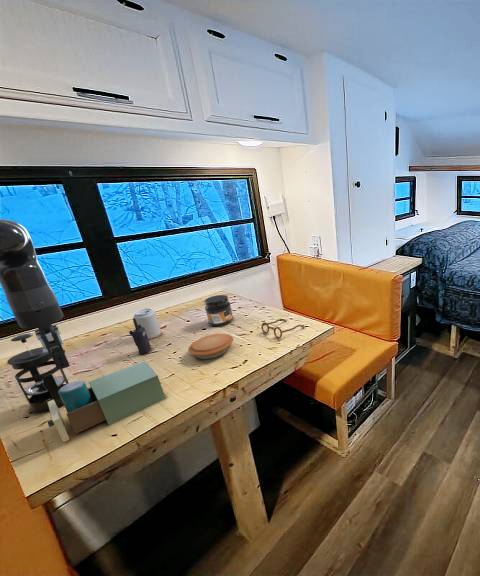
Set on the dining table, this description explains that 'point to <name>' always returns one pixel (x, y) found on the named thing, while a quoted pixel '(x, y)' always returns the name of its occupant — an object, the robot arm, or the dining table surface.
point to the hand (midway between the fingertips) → (61, 361)
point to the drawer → (76, 417)
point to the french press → (37, 376)
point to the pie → (211, 346)
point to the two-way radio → (140, 338)
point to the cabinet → (127, 391)
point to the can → (148, 322)
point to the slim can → (75, 395)
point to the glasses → (278, 328)
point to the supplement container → (218, 310)
